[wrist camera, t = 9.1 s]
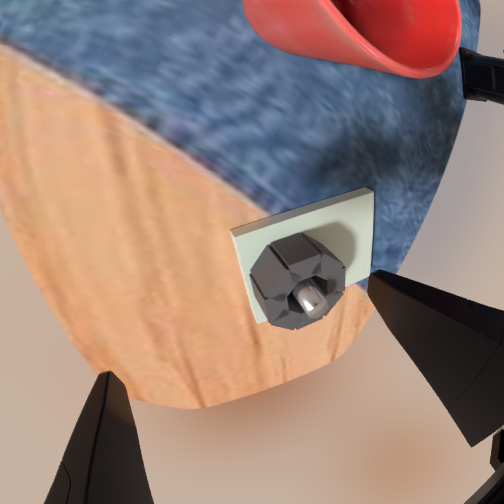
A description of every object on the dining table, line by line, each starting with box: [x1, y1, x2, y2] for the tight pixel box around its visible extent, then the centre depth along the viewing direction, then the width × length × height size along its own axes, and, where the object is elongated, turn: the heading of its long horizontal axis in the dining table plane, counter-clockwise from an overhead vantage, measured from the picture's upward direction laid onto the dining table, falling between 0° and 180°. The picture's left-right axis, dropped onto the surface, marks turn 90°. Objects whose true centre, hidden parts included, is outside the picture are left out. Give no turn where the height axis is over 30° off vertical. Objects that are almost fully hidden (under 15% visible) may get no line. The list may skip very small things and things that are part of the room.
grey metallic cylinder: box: [291, 278, 328, 318], centre depth 21 cm, size 2×2×6 cm
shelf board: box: [230, 187, 374, 324], centre depth 23 cm, size 12×9×1 cm
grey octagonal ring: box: [249, 233, 346, 330], centre depth 21 cm, size 6×6×3 cm
